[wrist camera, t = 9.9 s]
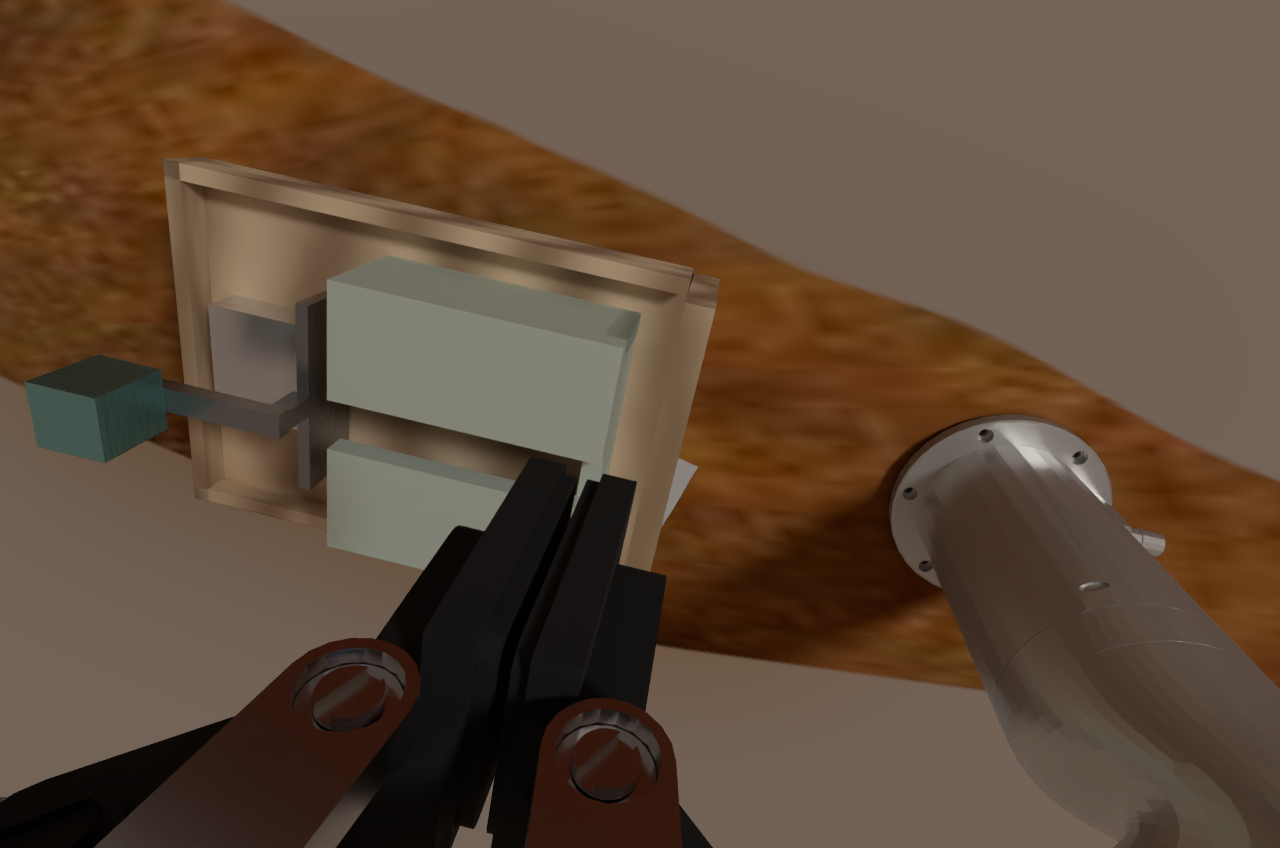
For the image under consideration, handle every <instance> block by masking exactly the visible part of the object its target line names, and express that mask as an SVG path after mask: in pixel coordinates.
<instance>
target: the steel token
mask: <svg viewBox="0 0 1280 848" xmlns="http://www.w3.org/2000/svg"><path fill="white" fill-rule="evenodd" d="M208 311H209V324H210V337H211V350H212V363H213V376H214V389H215V391H217V392H221V393H225V394H229V395H233V396H237V397H242V398H246V399H250V400H254V401H258V402H262V403H267V404H273V403H274V402H276V401H278V400H279V399H281V398H283V397H284V396H286V395H287V394H289V393H291V392H292V391H295V392H297V372H296V325H295V309H293V308H288V307H284V306H280V305H276V304H271V303H267V302H263V301H258V300H254V299H250V298H246V297H241V296H237V295H233V296H230V297H227V298H224V299H221V300H218V301H216V302H213V303H210V304H208ZM292 429H294V430H298V425H296V426H295V427H294V428H292Z"/></svg>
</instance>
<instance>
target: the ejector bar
mask: <svg viewBox="0 0 1280 848" xmlns="http://www.w3.org/2000/svg"><path fill="white" fill-rule="evenodd" d="M295 325H296V372H297V392H295V391H292V392H291V393H289V394H287V395H286V396H284V397H283V398H281V399H279V400H278V401H276V402H274V403H273V404H267V403H262V402H258V401H254V400H250V399H246V398H242V397H237V396H233V395H229V394H225V393H221V392H217V391H212V390H208V389H204V388H200V387H196V386H192V385H188V384H183V383H179V382H175V381H171V380H167V379H163V378H162V372H161V370H160V369H156V368H152V367H148V366H144V365H139V364H135V363H131V362H127V361H123V360H119V359H114V358H110V357H106V356H102V355H96V356H93V357H90V358H87V359H85V360H82V361H79V362H77V363H74V364H71V365H69V366H66V367H63V368H60V369H58V370H55V371H52V372H50V373H47V374H44V375H41V376H39V377H36V378H33V379H31V380H28V381H25V386H26V391H27V395H28V401H29V405H30V410H31V415H32V420H33V424H34V430H35V435H36V440H37V444H38V447H42V448H46V449H50V450H54V451H58V452H62V453H66V454H70V455H74V456H78V457H83V458H87V459H90V460H95V461H99V462H103V463H106V462H108V461H110V460H111V459H113V458H115V457H117V456H119V455H121V454H123V453H124V452H126V451H128V450H130V449H132V448H133V447H135V446H137V445H139V444H141V443H143V442H145V441H146V440H148V439H150V438H152V437H154V436H156V435H157V434H159V433H161V432H163V431H165V430H167V429H168V426H167V417H166V412H170V413H174V414H178V415H182V416H186V417H190V418H194V419H198V420H203V421H207V422H211V423H215V424H219V425H223V426H227V427H231V428H236V429H240V430H244V431H248V432H252V433H256V434H260V435H264V436H269V437H273V438H277V439H281V438H282V437H283V436H285V435H286V434H288V433H289V432H290V430H291V429H292V428H294V427H295V426H296V425H298V467H299V488H302V489H306V490H311V489H312V488H313V487H314V486H316V485H317V484H318V483H319V482H320V481H321V480H322V479H324V478H325V477H326V476H327V449H328V448H329V447H330V446H331V445H333V444H334V443H335V442H336V441H338V440H339V439H340V438H341V439H345V440H349V405H346V404H342V403H338V402H333V401H329V400H327V290H326V291H323V292H321V293H319V294H316V295H314V296H311V297H309V298H307V299H304V300H302V301H299V302H297V303H295Z"/></svg>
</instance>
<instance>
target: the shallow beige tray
mask: <svg viewBox="0 0 1280 848" xmlns="http://www.w3.org/2000/svg"><path fill="white" fill-rule="evenodd" d="M163 168H164V178H165V188H166V198H167V209H168V219H169V229H170V240H171V250H172V260H173V270H174V281H175V291H176V301H177V312H178V322H179V332H180V343H181V353H182V363H183V373H184V384H188V385H192V386H196V387H200V388H204V389H208V390H212V391H215V389H214V376H213V363H212V350H211V337H210V324H209V311H208V304H210V303H213V302H216V301H218V300H221V299H224V298H227V297H230V296H233V295H237V296H241V297H246V298H250V299H254V300H258V301H263V302H267V303H271V304H276V305H280V306H284V307H288V308H293V309H295V303H297V302H299V301H302V300H304V299H307V298H309V297H311V296H314V295H316V294H319V293H321V292H323V291H326V290H327V279H329V278H331V277H334V276H337V275H339V274H342V273H344V272H347V271H349V270H352V269H354V268H357V267H360V266H362V265H365V264H367V263H370V262H372V261H375V260H377V259H380V258H383V257H385V256H388V255H391V256H395V257H400V258H404V259H408V260H413V261H417V262H421V263H426V264H430V265H434V266H439V267H443V268H447V269H452V270H456V271H460V272H465V273H469V274H474V275H478V276H482V277H487V278H491V279H495V280H500V281H504V282H508V283H513V284H517V285H521V286H526V287H530V288H534V289H539V290H543V291H547V292H552V293H556V294H561V295H565V296H569V297H574V298H578V299H582V300H587V301H591V302H595V303H600V304H604V305H608V306H613V307H617V308H621V309H626V310H630V311H635V312H639V313H641V317H640V322H639V327H638V332H637V337H636V342H635V347H634V352H633V357H632V362H631V367H630V372H629V377H628V382H627V387H626V392H625V396H624V401H623V406H622V411H621V416H620V421H619V426H618V431H617V436H616V441H615V446H614V451H613V456H612V461H611V466H610V471H609V475H612V476H616V477H620V478H625V479H629V480H633V481H637V486H636V490H635V495H634V499H633V504H632V508H631V513H630V517H629V522H628V526H627V531H626V535H625V539H624V544H623V548H622V553H621V557H620V562H619V564H621V565H625V566H629V567H633V568H637V569H641V570H646V571H650V570H651V566H652V562H653V558H654V554H655V550H656V546H657V542H658V538H659V534H660V530H661V526H662V522H663V518H664V514H665V510H666V506H667V502H668V498H669V494H670V490H671V486H672V482H673V478H674V474H675V470H676V466H677V462H678V458H679V454H680V450H681V446H682V442H683V438H684V434H685V430H686V426H687V422H688V418H689V414H690V410H691V406H692V402H693V398H694V394H695V390H696V386H697V382H698V378H699V374H700V370H701V366H702V362H703V358H704V354H705V350H706V346H707V342H708V338H709V334H710V330H711V326H712V322H713V318H714V314H715V310H716V302H717V294H718V286H719V279H718V278H714V277H709V276H705V275H700V274H696V273H694V275H693V279H692V282H691V277H692V273H693V269H694V268H690V267H686V266H681V265H677V264H673V263H668V262H664V261H659V260H655V259H651V258H646V257H642V256H637V255H633V254H628V253H624V252H620V251H615V250H611V249H606V248H602V247H598V246H593V245H589V244H584V243H580V242H575V241H571V240H567V239H562V238H558V237H553V236H549V235H545V234H540V233H536V232H531V231H527V230H522V229H518V228H514V227H509V226H505V225H500V224H496V223H492V222H487V221H483V220H478V219H474V218H470V217H465V216H461V215H456V214H452V213H447V212H443V211H439V210H434V209H430V208H425V207H421V206H417V205H412V204H408V203H403V202H399V201H394V200H390V199H386V198H381V197H377V196H372V195H368V194H364V193H359V192H355V191H350V190H346V189H341V188H337V187H333V186H328V185H324V184H319V183H315V182H311V181H306V180H302V179H297V178H293V177H288V176H284V175H280V174H275V173H271V172H266V171H262V170H258V169H253V168H249V167H244V166H240V165H236V164H231V163H227V162H222V161H218V160H213V159H209V158H205V157H187V158H173V159H163ZM690 282H691V285H690ZM689 286H690V289H689ZM688 290H689V292H688ZM188 425H189V435H190V445H191V456H192V465H193V476H194V487H195V497H196V498H199V499H203V500H207V501H211V502H215V503H219V504H223V505H227V506H231V507H235V508H239V509H243V510H247V511H251V512H256V513H259V514H263V515H267V516H271V517H275V518H280V519H283V520H288V521H291V522H296V523H300V524H304V525H308V526H312V527H316V528H320V529H324V530H327V476H326V477H325V478H324V479H322V480H321V481H320V482H319V483H318V484H317V485H316V486H314V487H313V488H312V489H311V490H306V489H302V488H299V467H298V430H294V429H291V430H290V432H289V433H288V434H286V435H285V436H283V437H282V438H281V439H277V438H273V437H269V436H264V435H260V434H256V433H252V432H248V431H244V430H240V429H236V428H231V427H227V426H223V425H219V424H215V423H211V422H207V421H203V420H198V419H194V418H190V417H188ZM349 441H353V442H357V443H361V444H366V445H370V446H374V447H378V448H382V449H386V450H390V451H395V452H399V453H403V454H407V455H411V456H415V457H419V458H424V459H428V460H432V461H436V462H440V463H444V464H448V465H453V466H457V467H461V468H465V469H469V470H473V471H477V472H482V473H486V474H490V475H494V476H498V477H502V478H506V479H511V480H515V481H516V480H517V478H518V476H519V475H520V473H521V471H522V470H523V468H524V467H525V465H526V463H527V462H528V460H529V459H530V457H537V458H541V459H545V460H550V461H554V462H558V463H562V464H566V467H567V468H566V474H568V475H572V476H577V485H576V491H575V495H576V494H577V489H578V483H579V478H580V472H581V467H582V461H580V460H576V459H572V458H567V457H563V456H559V455H555V454H551V453H547V452H542V451H538V450H534V449H530V448H526V447H522V446H517V445H513V444H509V443H505V442H501V441H496V440H492V439H488V438H484V437H480V436H476V435H471V434H467V433H463V432H459V431H455V430H450V429H446V428H442V427H438V426H434V425H430V424H425V423H421V422H417V421H413V420H409V419H405V418H400V417H396V416H392V415H388V414H384V413H379V412H375V411H371V410H367V409H363V408H359V407H354V406H350V405H349Z"/></svg>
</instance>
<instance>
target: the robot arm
mask: <svg viewBox="0 0 1280 848" xmlns="http://www.w3.org/2000/svg"><path fill="white" fill-rule="evenodd" d="M984 429H985V431H984V432H982V433H980V432H981V431H982V430H984ZM566 468H567V467H566V464H562V463H558V462H554V461H550V460H545V459H541V458H537V457H530V459H529V460H528V462H527V463H526V465H525V467H524V468H523V470H522V471H521V473H520V475H519V476H518V478H517V480H516V481H515V483H514V484H513V486H512V488H511V489H510V491H509V492H508V494H507V496H506V497H505V499H504V501H503V502H502V504H501V505H500V507H499V509H498V510H497V512H496V514H495V515H494V517H493V518H492V520H491V522H490V523H489V525H488V526H487V528H486V530H485V531H482V530H478V529H474V528H470V527H466V526H461V525H458V526H456V527H455V528H454V529H453V530H452V531H451V532H450V534H449V535H448V537H447V538H446V539H445V541H444V542H443V544H442V545H441V547H440V548H439V549H438V551H437V552H436V554H435V555H434V557H433V558H432V559H431V561H430V562H429V564H428V565H427V567H426V568H425V569H424V571H423V572H422V574H421V576H420V577H419V578H418V580H417V581H416V582H415V584H414V586H413V587H412V588H411V590H410V591H409V592H408V594H407V595H406V597H405V598H404V600H403V601H402V602H401V604H400V606H399V607H398V608H397V610H396V611H395V612H394V614H393V615H392V617H391V618H390V620H389V621H388V622H387V624H386V625H385V627H384V628H383V630H382V631H381V633H380V634H379V635H378V637H377V638H376V639H373V638H348V639H344V640H338V641H333V642H329V643H326V644H324V645H322V646H319V647H317V648H315V649H312V650H310V651H308V652H307V653H306V654H304V655H303V656H302V657H300V658H299V659H297V660H296V661H295V662H293V663H292V664H291V665H290V666H289V667H287V668H286V669H285V670H284V671H283V672H282V673H281V674H280V675H279V676H278V677H277V678H276V679H275V680H273V681H272V682H271V683H270V684H269V685H268V686H267V687H266V688H265V689H264V690H263V691H262V692H261V693H260V694H259V695H257V696H256V697H255V698H254V699H253V700H252V701H251V702H250V703H249V704H248V705H247V706H246V707H244V708H243V709H242V710H241V711H240V712H239V713H238V714H237V715H236V716H234V717H231V718H228V719H225V720H222V721H219V722H216V723H213V724H210V725H207V726H204V727H201V728H198V729H195V730H192V731H189V732H186V733H183V734H181V735H178V736H174V737H171V738H168V739H165V740H162V741H160V742H157V743H154V744H151V745H148V746H145V747H142V748H139V749H136V750H133V751H130V752H127V753H124V754H121V755H118V756H115V757H112V758H109V759H106V760H103V761H100V762H97V763H94V764H92V765H88V766H85V767H82V768H79V769H76V770H74V771H70V772H67V773H64V774H61V775H58V776H55V777H52V778H49V779H46V780H44V781H42V782H39V783H37V784H35V785H32V786H30V787H28V788H25V789H23V790H21V791H19V792H16V793H14V794H12V795H11V796H9V797H0V848H451V847H452V844H453V842H454V839H455V837H456V834H457V832H458V829H459V827H460V826H464V827H467V828H471V829H474V828H475V826H476V824H477V822H478V819H479V817H480V814H481V811H482V809H483V806H484V803H485V801H486V798H487V795H488V793H489V790H490V787H491V785H492V782H493V779H494V785H493V792H492V798H491V805H490V811H489V817H488V824H487V833H490V834H493V839H492V846H491V848H713V847H712V846H711V845H710V844H709V842H708V841H707V840H706V838H705V837H704V836H703V835H702V833H701V832H700V831H699V829H698V828H697V827H696V826H695V824H694V823H693V822H692V821H691V819H690V818H689V816H688V815H687V814H686V813H685V811H684V810H683V809H682V807H681V806H680V805H679V795H678V780H677V766H676V759H675V755H674V751H673V746H672V743H671V741H670V739H669V738H668V736H667V734H666V733H665V731H664V729H663V728H662V726H661V725H659V724H658V723H657V722H656V721H655V720H654V719H653V718H652V717H651V716H650V715H649V714H648V713H646V712H645V710H646V704H647V696H648V691H649V684H650V679H651V671H652V666H653V660H654V653H655V647H656V641H657V635H658V628H659V622H660V616H661V610H662V603H663V597H664V591H665V585H666V575H662V574H657V573H653V572H649V571H645V570H641V569H637V568H633V567H629V566H625V565H621V564H619V562H620V557H621V553H622V548H623V544H624V539H625V535H626V531H627V526H628V522H629V517H630V513H631V508H632V504H633V499H634V495H635V490H636V486H637V481H633V480H629V479H625V478H620V477H616V476H612V475H608V474H603V475H602V477H601V480H600V482H597V481H593V480H589V479H587V481H586V483H585V486H584V488H583V490H582V493H581V495H580V498H579V500H578V502H577V505H576V507H575V509H574V512H573V514H572V516H571V513H572V508H573V502H574V497H575V491H576V485H577V476H572V475H568V474H566ZM907 488H910V489H908V490H905V489H907ZM1111 506H1112V490H1111V482H1110V479H1109V477H1108V474H1107V471H1106V468H1105V466H1104V465H1103V463H1102V462H1101V460H1100V459H1099V457H1098V456H1097V454H1096V453H1095V452H1094V451H1093V450H1092V449H1091V448H1090V447H1089V446H1088V445H1087V444H1086V443H1085V442H1084V441H1083V440H1082V439H1081V438H1079V437H1078V436H1077V435H1075V434H1074V433H1072V432H1071V431H1070V430H1068V429H1067V428H1065V427H1063V426H1060V425H1058V424H1056V423H1053V422H1051V421H1049V420H1045V419H1041V418H1037V417H1032V416H1028V415H1009V414H1005V415H996V416H987V417H982V418H978V419H974V420H971V421H967V422H963V423H961V424H959V425H957V426H954V427H952V428H950V429H948V430H946V431H943V432H942V433H940V434H939V435H937V436H936V437H934V438H933V439H931V440H930V441H928V442H927V443H926V444H924V445H923V446H922V447H921V448H920V449H919V450H918V451H917V452H916V453H915V454H914V455H913V456H912V457H911V458H910V459H909V461H908V462H907V463H906V465H905V466H904V467H903V469H902V470H901V472H900V474H899V476H898V478H897V480H896V482H895V484H894V486H893V489H892V493H891V497H890V502H889V523H890V527H891V532H892V536H893V538H894V541H895V543H896V546H897V548H898V551H899V552H900V554H901V555H902V557H903V558H904V560H905V561H906V563H907V564H908V565H909V566H910V567H911V568H912V569H913V570H914V571H915V572H916V573H917V574H918V575H919V576H921V577H922V578H924V579H925V580H927V581H928V582H930V583H931V584H933V585H935V586H937V587H940V588H942V590H943V592H944V594H945V597H946V599H947V601H948V604H949V606H950V608H951V611H952V613H953V615H954V618H955V620H956V622H957V624H958V627H959V629H960V631H961V634H962V636H963V638H964V641H965V643H966V645H967V648H968V650H969V652H970V655H971V657H972V659H973V662H974V664H975V666H976V669H977V671H978V673H979V676H980V678H981V680H982V683H983V685H984V687H985V690H986V692H987V694H988V697H989V699H990V701H991V704H992V706H993V708H994V711H995V713H996V715H997V718H998V720H999V722H1000V724H1001V726H1002V728H1003V731H1004V733H1005V735H1006V738H1007V740H1008V742H1009V745H1010V746H1011V748H1012V750H1013V752H1014V754H1015V756H1016V758H1017V760H1018V761H1019V763H1020V764H1021V766H1022V767H1023V768H1024V770H1025V771H1026V773H1027V774H1028V775H1029V777H1030V778H1031V779H1032V780H1033V781H1034V782H1035V783H1036V785H1038V787H1039V788H1041V790H1042V791H1043V792H1044V793H1045V794H1046V795H1047V796H1049V797H1050V798H1051V799H1052V800H1053V801H1054V802H1055V803H1057V804H1058V805H1060V806H1061V807H1063V808H1064V809H1065V810H1066V811H1068V812H1069V813H1071V814H1072V815H1074V816H1075V817H1076V818H1078V819H1079V820H1081V821H1083V822H1085V823H1086V824H1088V825H1090V826H1091V827H1093V828H1095V829H1097V830H1098V831H1100V832H1102V833H1104V834H1105V835H1107V836H1109V837H1111V838H1113V839H1115V840H1117V841H1119V843H1118V844H1117V845H1116V846H1115V847H1113V848H1280V689H1279V688H1278V687H1277V686H1276V685H1275V684H1274V683H1273V682H1272V681H1271V680H1270V679H1269V678H1268V677H1267V676H1266V675H1265V674H1264V673H1263V672H1262V671H1261V670H1260V669H1259V668H1258V667H1257V666H1256V665H1255V664H1254V663H1253V662H1252V660H1251V659H1250V658H1249V657H1248V656H1247V655H1246V654H1245V653H1244V652H1243V651H1242V650H1241V649H1240V648H1239V647H1238V646H1237V645H1236V644H1235V642H1234V641H1233V640H1232V639H1231V638H1230V637H1229V636H1228V635H1227V634H1226V633H1225V632H1223V631H1222V630H1221V629H1220V628H1219V627H1218V625H1217V624H1216V623H1215V622H1214V621H1213V620H1212V619H1211V618H1210V617H1209V616H1208V615H1207V614H1206V613H1205V612H1204V611H1203V609H1202V608H1201V607H1200V606H1199V605H1198V604H1197V603H1196V602H1195V601H1194V600H1193V599H1192V598H1191V597H1190V596H1189V595H1188V594H1187V592H1186V591H1185V590H1184V589H1183V588H1182V587H1181V586H1180V585H1179V584H1178V583H1177V582H1176V581H1175V580H1174V579H1173V578H1172V577H1171V575H1170V574H1169V573H1168V572H1167V571H1166V570H1165V569H1164V568H1163V567H1162V566H1161V565H1160V564H1159V563H1158V562H1157V561H1156V559H1155V558H1154V557H1156V556H1159V555H1160V554H1161V553H1162V552H1163V550H1164V548H1165V539H1164V537H1163V535H1161V534H1159V533H1155V532H1150V531H1146V530H1142V529H1138V528H1137V529H1133V528H1131V527H1130V526H1129V525H1128V524H1127V523H1126V522H1125V521H1124V520H1123V519H1122V518H1121V517H1120V515H1119V514H1118V513H1117V512H1116V511H1115V510H1114V509H1113V508H1112V507H1111ZM494 776H495V778H494Z"/></svg>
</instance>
